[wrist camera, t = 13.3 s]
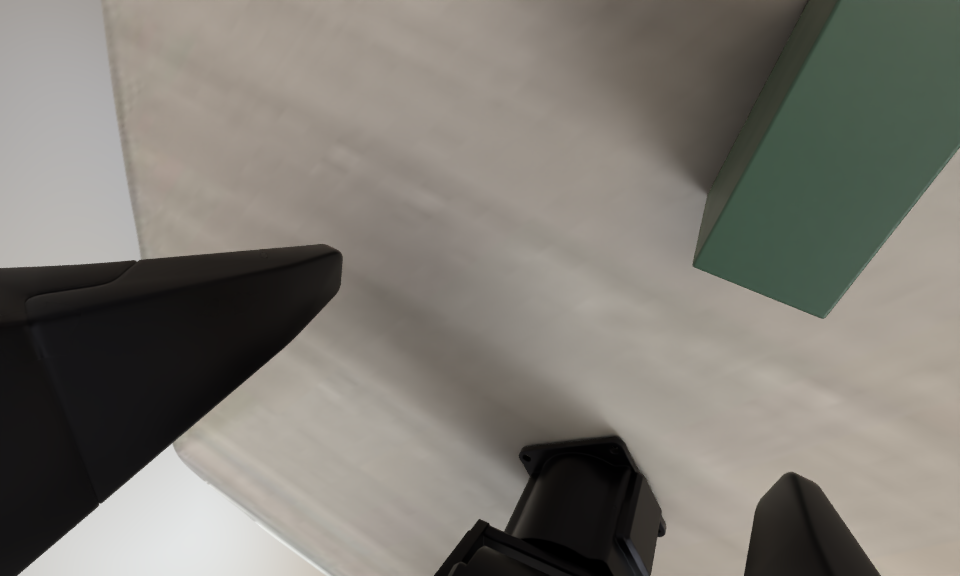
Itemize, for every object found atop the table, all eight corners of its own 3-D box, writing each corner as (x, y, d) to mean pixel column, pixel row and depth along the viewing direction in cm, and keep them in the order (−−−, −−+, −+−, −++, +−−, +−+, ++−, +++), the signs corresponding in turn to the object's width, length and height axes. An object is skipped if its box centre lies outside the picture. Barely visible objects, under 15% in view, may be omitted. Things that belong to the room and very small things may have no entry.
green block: (799, 229, 18) (824, 321, 12) (706, 196, 19) (690, 267, 13) (940, 16, 14) (1072, 7, 8) (815, -14, 15) (859, -40, 9)
